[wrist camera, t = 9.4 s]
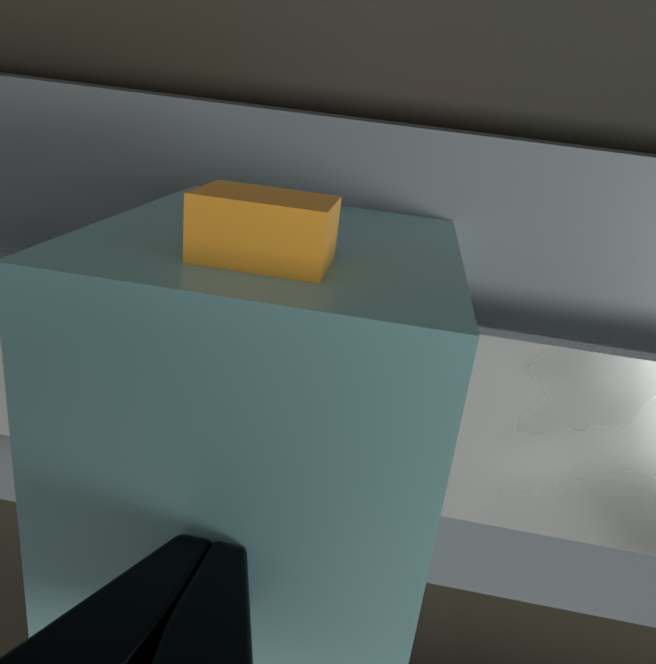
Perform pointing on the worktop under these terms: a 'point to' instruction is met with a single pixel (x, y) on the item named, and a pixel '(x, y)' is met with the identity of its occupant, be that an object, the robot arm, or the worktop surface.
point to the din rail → (550, 437)
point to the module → (242, 406)
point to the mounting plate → (391, 196)
